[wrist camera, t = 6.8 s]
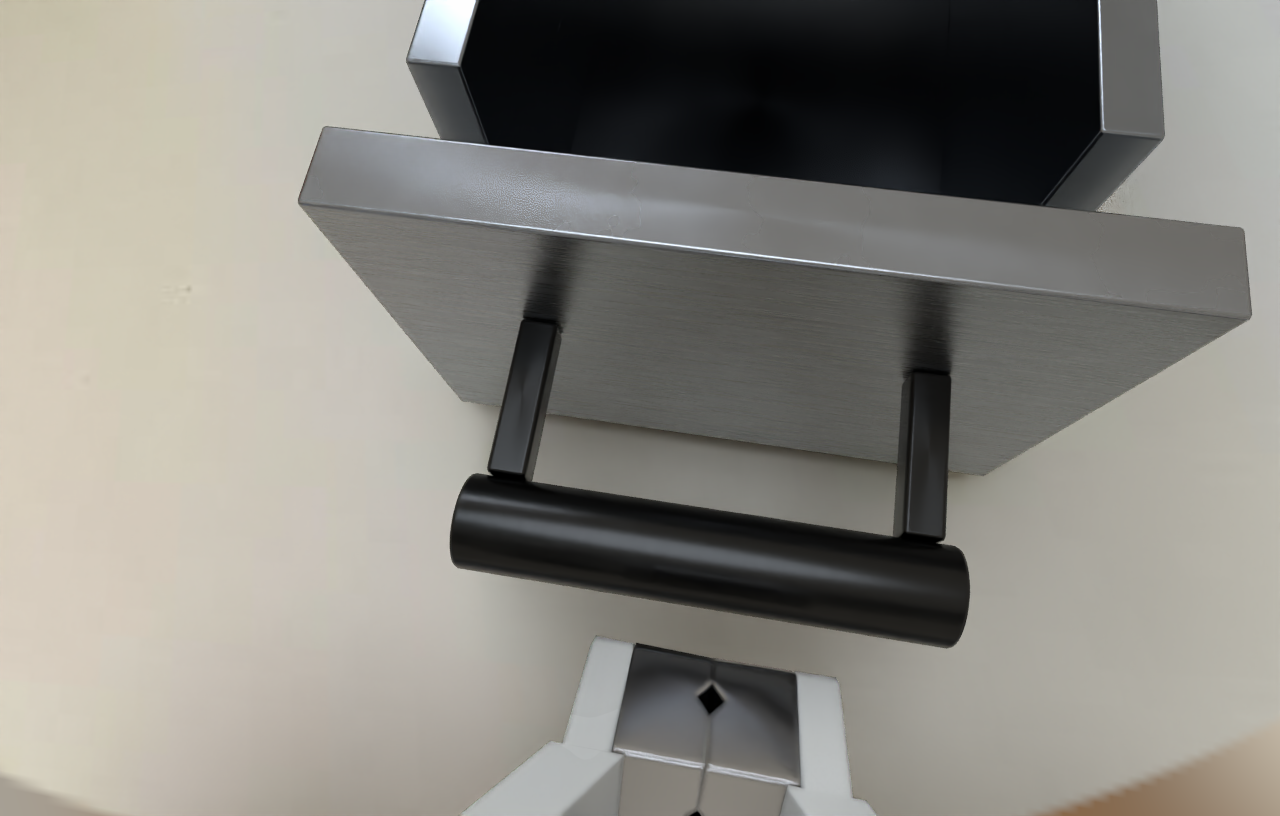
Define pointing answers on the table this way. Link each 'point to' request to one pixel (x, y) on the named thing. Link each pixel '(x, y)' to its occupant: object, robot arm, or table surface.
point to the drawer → (774, 266)
